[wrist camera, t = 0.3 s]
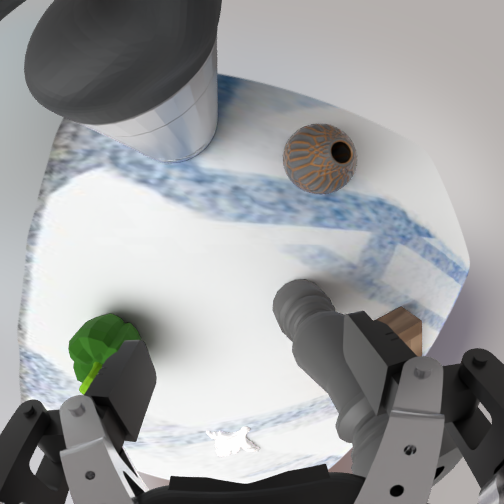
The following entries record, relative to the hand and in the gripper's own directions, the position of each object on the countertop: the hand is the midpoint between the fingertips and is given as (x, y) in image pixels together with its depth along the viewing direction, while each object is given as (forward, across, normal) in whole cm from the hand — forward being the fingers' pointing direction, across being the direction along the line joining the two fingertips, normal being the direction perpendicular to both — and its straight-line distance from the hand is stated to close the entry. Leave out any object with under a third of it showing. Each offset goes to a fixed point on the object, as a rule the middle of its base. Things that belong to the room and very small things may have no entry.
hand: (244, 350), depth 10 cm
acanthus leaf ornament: (+19, +6, +31) cm, 37 cm away
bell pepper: (+19, +17, +9) cm, 27 cm away
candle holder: (+20, -6, +8) cm, 22 cm away
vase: (+21, -8, -8) cm, 24 cm away
